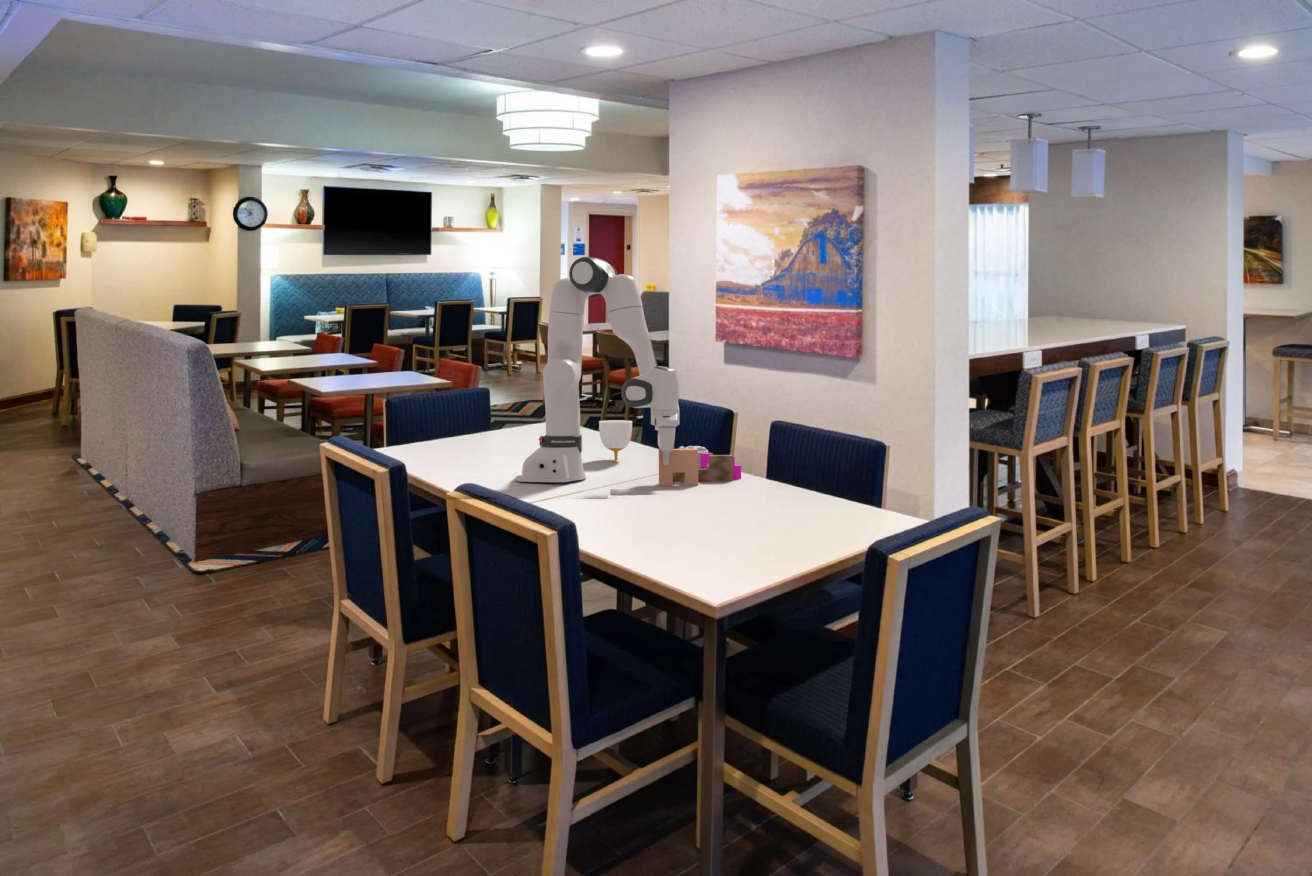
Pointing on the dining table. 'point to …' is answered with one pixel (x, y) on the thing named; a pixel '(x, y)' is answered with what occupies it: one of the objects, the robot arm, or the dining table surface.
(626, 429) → the cup
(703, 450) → the lumpy-topped squat cylinder
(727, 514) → the dining table surface
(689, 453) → the tan notched block
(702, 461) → the toy block
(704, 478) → the walnut rail
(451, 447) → the dining table surface
